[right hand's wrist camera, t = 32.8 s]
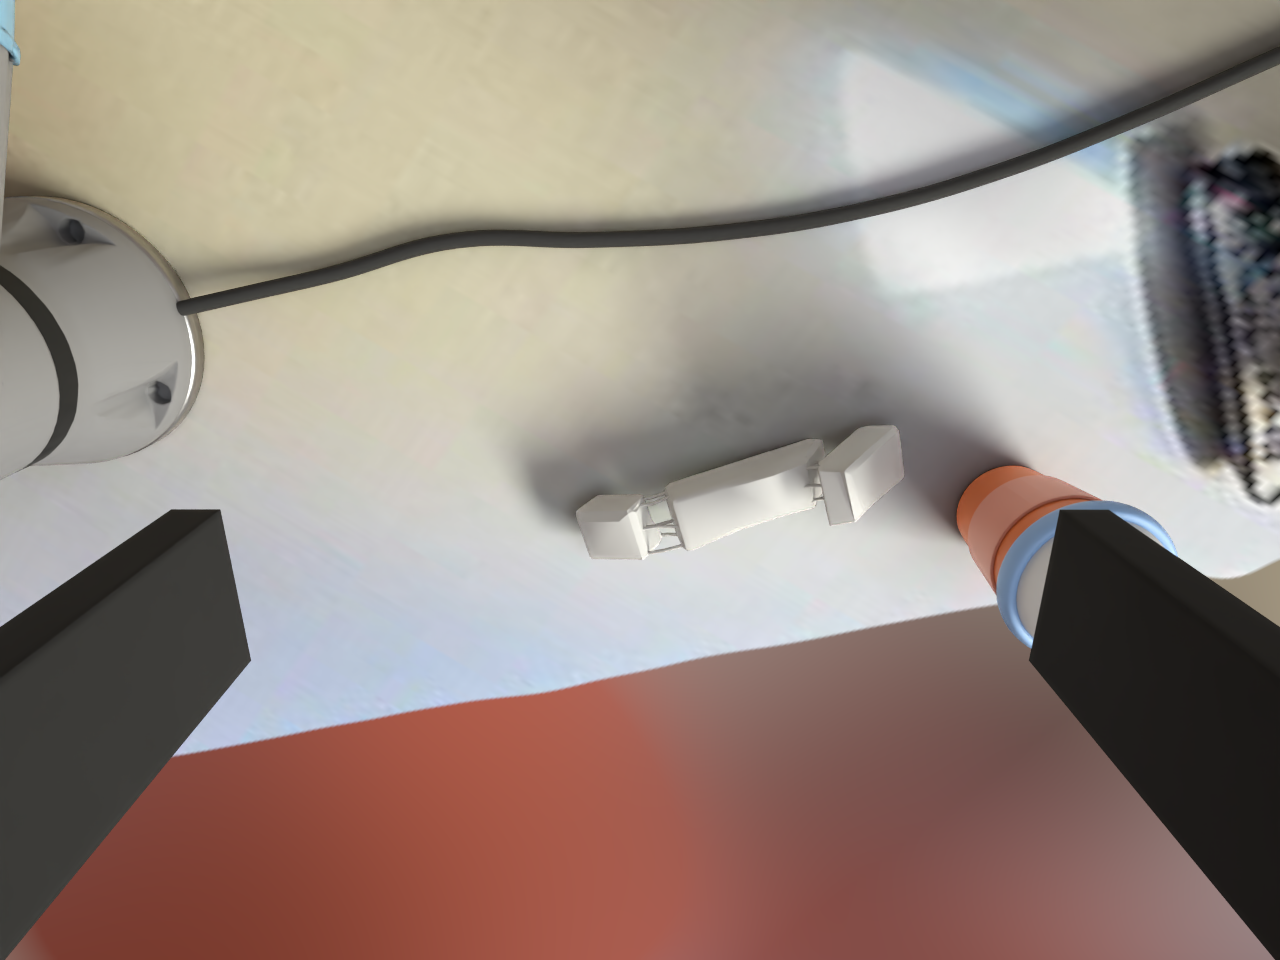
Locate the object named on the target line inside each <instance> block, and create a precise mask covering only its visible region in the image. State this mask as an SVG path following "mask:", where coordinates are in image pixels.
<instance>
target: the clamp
mask: <svg viewBox="0 0 1280 960" xmlns="http://www.w3.org/2000/svg"><path fill="white" fill-rule="evenodd" d="M904 476H905V474H904V466H903V458H902V450H901V441H900V433H899V430H898V429H897V428H896V426H894V425H876V426H865V427H861V428H858V429H857V430H856V431H854V432H853V433H852V434H851V435H850V436H849V437H848V438H846V439H845V440H844V441H843V442H842V443H841V444H839V445H838V446H837V447H836V448H835V449H834V450H832V451H831V452H830V453H829V454H828V455H827V456H826V457H825V451H824V444H823V440H819V439H806V440H803V441H800V442H797V443H793V444H790V445H787V446H784V447H781V448H778V449H775V450H771V451H768V452H765V453H762V454H759V455H756V456H753V457H749V458H746V459H743V460H740V461H737V462H734V463H731V464H727V465H724V466H721V467H718V468H715V469H712V470H709V471H706V472H702V473H699V474H696V475H693V476H690V477H687V478H684V479H680V480H677V481H674V482H671V483H669V484H668V485H667V486H666V487H665V489H664V492H662V493H659V494H655V495H652V496H648V497H644V496H643V495H641V494H624V495H597V496H596V497H594V498H593V499H591V500H590V501H589V502H587V503H586V504H585V505H583V506H582V507H580V508H579V509H578V510H577V511H576V518H577V520H578V523H579V526H580V529H581V532H582V535H583V538H584V541H585V544H586V547H587V550H588V553H589V556H590V557H591V559H627V560H643V559H645V558H646V557H647V556H648V555H649V554H655V553H661V552H666V551H670V550H674V549H677V548H681V547H683V548H684V549H686V550H687V551H691V550H695V549H697V548H700V547H702V546H704V545H707V544H709V543H711V542H713V541H716V540H718V539H720V538H723V537H725V536H727V535H730V534H732V533H734V532H737V531H739V530H742V529H745V528H748V527H751V526H754V525H757V524H761V523H764V522H767V521H770V520H773V519H776V518H779V517H783V516H786V515H790V514H793V513H797V512H801V511H805V510H809V509H813V508H814V507H815V506H816V503H817V501H820V500H824V502H825V506H826V511H827V515H828V520H829V524H830V526H833V525H839V524H846V523H852V522H857V520H858V519H859V518H860V517H861V516H862V515H863V514H864V513H865V512H866V511H867V510H868V509H869V508H870V507H871V506H872V505H873V504H874V503H875V502H876V501H878V500H879V499H880V498H881V497H882V496H883V495H885V494H886V493H887V492H888V491H889V490H890V489H892V488H893V487H894V486H895V485H896V484H897V483H899V482H900V481H901V480H902V479H903V478H904ZM822 493H823V497H820V496H821V494H822ZM663 495H665V497H664V498H661V499H659V500H656V501H654V502H649V503H646V501H645V500H649V499H653V498H656V497H659V496H663ZM664 500H667V504H668V507H669V511H670V514H671V517H672V519H671V520H668V521H665V522H661V523H658V524H655V523H654V521H653V520H652V517H651V515H650V512H649V509H648V506H651V505H654V504H657V503H659V502H662V501H664ZM672 522H673V524H674V525H665V524H669V523H672ZM658 528H675V531H676V533H661V532H660V530H659V529H658ZM663 536H678V538H679V540H680V542H681V544H680V545H676V546H673V547H669V548H665V549H660V550H654V549H655V548H656V547H657V546H658V545H659V543H660V541H661V539H662V537H663ZM653 550H654V551H653Z"/></svg>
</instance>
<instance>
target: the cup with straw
mask: <svg viewBox="0 0 1280 960" xmlns="http://www.w3.org/2000/svg"><path fill="white" fill-rule="evenodd" d="M1060 510H1110V511H1112V512H1113V513H1114V514H1116V515H1117V516H1119V517H1120V518H1122V519H1123V520H1125V521H1126V522H1128V523H1129V524H1130V525H1132V526H1133V527H1135V528H1136V529H1138V530H1139V531H1141V532H1142V533H1144V534H1145V535H1146V536H1148V537H1149V538H1151V539H1152V540H1154V541H1155V542H1157V543H1158V544H1160V545H1161V546H1162V547H1164V548H1165V549H1167V550H1168V551H1170V552H1171V553H1173V554H1174V555H1176V556H1177V557H1178V555H1177V551H1176V549H1175V546H1174V544H1173V542H1172V540H1171V538H1170V536H1169V535H1168V534H1167V532H1166V531H1165V529H1164V528H1163V527H1162V526H1161V525H1160V524H1159V523H1158V522H1157V521H1156V520H1155V519H1153V518H1152V517H1151V516H1149V515H1148V514H1146V513H1145V512H1143V511H1141V510H1139V509H1137V508H1135V507H1132V506H1129V505H1126V504H1123V503H1119V502H1113V501H1103V500H1101V499H1099V498H1097V497H1095V496H1093V495H1090V494H1088V493H1086V492H1084V491H1082V490H1080V489H1078V488H1076V487H1074V486H1072V485H1070V484H1068V483H1066V482H1064V481H1062V480H1059V479H1057V478H1053V477H1050V476H1045V475H1043V474H1040V473H1038V472H1036V471H1034V470H1032V469H1029V468H1026V467H1022V466H1003V467H998V468H995V469H992V470H990V471H988V472H986V473H984V474H982V475H980V476H979V477H978V478H976V479H975V480H974V481H973V482H972V483H971V484H970V485H969V486H968V487H967V489H966V490H965V491H964V493H963V495H962V497H961V499H960V501H959V504H958V508H957V524H958V528H959V531H960V533H961V535H962V537H963V539H964V540H965V542H966V543H967V545H968V546H969V550H970V553H971V556H972V558H973V560H974V561H975V563H976V564H977V566H978V568H979V569H980V571H981V572H982V574H983V575H984V577H985V578H986V580H987V582H988V583H989V585H990V586H991V588H992V589H993V591H994V592H995V594H996V595H997V603H998V607H999V610H1000V613H1001V616H1002V618H1003V620H1004V622H1005V623H1006V625H1007V627H1008V628H1009V630H1010V631H1011V632H1012V633H1013V634H1014V635H1015V636H1016V637H1017V638H1018V639H1019V640H1020V641H1021V642H1022V643H1024V644H1025V645H1026V646H1028V647H1029V648H1032V643H1033V639H1034V634H1035V629H1036V624H1037V619H1038V614H1039V609H1040V604H1041V599H1042V594H1043V589H1044V584H1045V579H1046V575H1047V570H1048V565H1049V560H1050V555H1051V550H1052V545H1053V540H1054V535H1055V530H1056V525H1057V520H1058V516H1059V511H1060Z"/></svg>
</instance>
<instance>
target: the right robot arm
mask: <svg viewBox="0 0 1280 960" xmlns="http://www.w3.org/2000/svg"><path fill="white" fill-rule="evenodd" d="M14 22H15V0H0V480H1V479H3V478H5V477H7V476H9V475H11V474H13V473H15V472H17V471H20V470H22V469H24V468H26V467H29V466H41V465H64V464H87V463H98V462H104V461H109V460H113V459H116V458H120V457H123V456H127V455H130V454H132V453H135V452H138V451H140V450H142V449H144V448H146V447H147V446H149V445H151V444H153V443H155V442H157V441H159V440H161V439H162V438H163V437H165V436H166V435H168V434H169V433H170V432H171V431H173V430H174V429H175V428H176V427H177V426H178V425H179V424H180V423H181V422H182V421H183V419H184V418H185V417H186V415H187V414H188V412H189V411H190V409H191V407H192V406H193V404H194V402H195V400H196V397H197V395H198V392H199V389H200V385H201V382H202V377H203V370H204V343H203V337H202V331H201V327H200V323H199V319H198V316H197V313H199V312H204V311H208V310H212V309H217V308H221V307H226V306H230V305H234V304H239V303H243V302H247V301H252V300H256V299H261V298H265V297H270V296H274V295H279V294H283V293H288V292H292V291H297V290H301V289H306V288H310V287H314V286H318V285H323V284H327V283H331V282H335V281H339V280H342V279H346V278H349V277H353V276H356V275H360V274H363V273H366V272H369V271H372V270H375V269H378V268H381V267H384V266H387V265H390V264H393V263H396V262H399V261H403V260H406V259H409V258H413V257H416V256H420V255H424V254H429V253H433V252H438V251H443V250H449V249H456V248H464V247H475V246H532V247H554V248H598V247H630V246H655V245H674V244H688V243H701V242H711V241H721V240H731V239H740V238H749V237H757V236H765V235H773V234H780V233H787V232H794V231H800V230H806V229H812V228H817V227H823V226H828V225H833V224H838V223H843V222H848V221H853V220H857V219H862V218H866V217H871V216H875V215H880V214H884V213H888V212H892V211H896V210H900V209H904V208H908V207H912V206H916V205H920V204H923V203H927V202H930V201H934V200H937V199H941V198H944V197H947V196H951V195H954V194H957V193H960V192H963V191H967V190H970V189H973V188H976V187H979V186H982V185H985V184H988V183H991V182H994V181H997V180H1000V179H1003V178H1006V177H1009V176H1012V175H1015V174H1018V173H1021V172H1024V171H1026V170H1029V169H1032V168H1035V167H1037V166H1040V165H1043V164H1046V163H1048V162H1051V161H1054V160H1056V159H1059V158H1061V157H1064V156H1067V155H1069V154H1072V153H1074V152H1077V151H1079V150H1082V149H1084V148H1087V147H1089V146H1091V145H1094V144H1096V143H1099V142H1101V141H1104V140H1106V139H1109V138H1111V137H1113V136H1116V135H1118V134H1121V133H1123V132H1125V131H1128V130H1130V129H1133V128H1135V127H1138V126H1140V125H1142V124H1145V123H1147V122H1150V121H1152V120H1154V119H1157V118H1159V117H1161V116H1164V115H1166V114H1168V113H1171V112H1173V111H1175V110H1178V109H1180V108H1182V107H1185V106H1187V105H1189V104H1191V103H1194V102H1196V101H1198V100H1200V99H1203V98H1205V97H1207V96H1209V95H1212V94H1214V93H1216V92H1218V91H1220V90H1223V89H1225V88H1227V87H1229V86H1232V85H1234V84H1236V83H1238V82H1240V81H1243V80H1245V79H1247V78H1249V77H1252V76H1254V75H1256V74H1258V73H1260V72H1263V71H1265V70H1267V69H1270V68H1272V67H1274V66H1276V65H1279V64H1280V47H1277V48H1275V49H1273V50H1270V51H1268V52H1266V53H1264V54H1261V55H1259V56H1257V57H1255V58H1253V59H1250V60H1248V61H1246V62H1244V63H1241V64H1239V65H1237V66H1235V67H1233V68H1230V69H1228V70H1226V71H1224V72H1222V73H1219V74H1217V75H1215V76H1213V77H1211V78H1208V79H1206V80H1204V81H1202V82H1200V83H1197V84H1195V85H1193V86H1191V87H1188V88H1186V89H1184V90H1182V91H1179V92H1177V93H1175V94H1173V95H1170V96H1168V97H1166V98H1163V99H1161V100H1159V101H1156V102H1154V103H1152V104H1149V105H1147V106H1145V107H1142V108H1140V109H1137V110H1135V111H1133V112H1130V113H1128V114H1125V115H1123V116H1121V117H1118V118H1116V119H1113V120H1111V121H1109V122H1106V123H1104V124H1101V125H1099V126H1096V127H1094V128H1092V129H1089V130H1087V131H1084V132H1082V133H1079V134H1077V135H1074V136H1072V137H1069V138H1067V139H1064V140H1062V141H1059V142H1057V143H1054V144H1052V145H1049V146H1046V147H1044V148H1041V149H1038V150H1036V151H1033V152H1030V153H1027V154H1025V155H1022V156H1019V157H1016V158H1013V159H1010V160H1008V161H1005V162H1002V163H999V164H996V165H993V166H990V167H987V168H984V169H981V170H978V171H975V172H972V173H969V174H965V175H962V176H959V177H956V178H953V179H950V180H946V181H943V182H940V183H936V184H933V185H930V186H926V187H922V188H919V189H915V190H911V191H908V192H904V193H900V194H896V195H892V196H888V197H884V198H879V199H875V200H871V201H866V202H862V203H857V204H853V205H848V206H843V207H839V208H834V209H829V210H824V211H818V212H813V213H807V214H801V215H795V216H789V217H782V218H775V219H767V220H759V221H751V222H743V223H734V224H724V225H715V226H704V227H693V228H680V229H663V230H641V231H611V232H543V231H522V230H479V231H466V232H458V233H450V234H444V235H438V236H433V237H428V238H423V239H419V240H415V241H412V242H408V243H404V244H401V245H398V246H395V247H392V248H388V249H385V250H382V251H379V252H376V253H373V254H370V255H367V256H364V257H361V258H358V259H355V260H352V261H348V262H345V263H342V264H338V265H334V266H331V267H327V268H323V269H319V270H314V271H310V272H306V273H302V274H297V275H293V276H288V277H284V278H279V279H274V280H270V281H265V282H261V283H256V284H252V285H248V286H243V287H239V288H234V289H230V290H226V291H221V292H217V293H213V294H208V295H204V296H199V297H195V298H190V296H189V294H188V292H187V290H186V289H185V287H184V285H183V283H182V281H181V280H180V278H179V277H178V275H177V274H176V272H175V271H174V270H173V268H172V267H171V266H170V264H169V263H168V262H167V261H166V259H165V258H164V257H163V256H162V255H161V254H160V253H159V252H158V251H157V250H156V249H155V247H154V246H152V245H151V244H150V243H149V242H148V241H147V240H146V239H145V238H144V237H143V236H141V235H140V234H139V233H137V232H136V231H135V230H133V229H132V228H131V227H129V226H128V225H126V224H125V223H123V222H122V221H120V220H119V219H117V218H115V217H113V216H111V215H109V214H108V213H106V212H103V211H101V210H99V209H97V208H94V207H92V206H89V205H86V204H83V203H80V202H77V201H72V200H68V199H64V198H57V197H46V196H20V197H7V198H4V188H5V174H6V159H7V145H8V130H9V116H10V101H11V87H12V72H13V65H16V66H18V65H19V64H20V57H21V55H20V49H19V47H18V45H17V44H16V42H15V41H14ZM250 661H251V658H250V653H249V648H248V643H247V639H246V634H245V629H244V624H243V619H242V614H241V609H240V604H239V599H238V594H237V589H236V584H235V579H234V575H233V570H232V565H231V560H230V555H229V550H228V545H227V540H226V535H225V530H224V525H223V520H222V516H221V511H220V510H170V511H168V512H167V513H166V514H164V515H163V516H161V517H160V518H158V519H157V520H155V521H154V522H152V523H151V524H150V525H148V526H147V527H145V528H144V529H142V530H141V531H139V532H138V533H136V534H135V535H134V536H132V537H131V538H129V539H128V540H126V541H125V542H123V543H122V544H120V545H119V546H118V547H116V548H115V549H113V550H112V551H110V552H109V553H107V554H106V555H104V556H103V557H102V558H100V559H99V560H97V561H96V562H94V563H93V564H91V565H90V566H88V567H87V568H86V569H84V570H83V571H81V572H80V573H78V574H77V575H75V576H74V577H72V578H71V579H70V580H68V581H67V582H65V583H64V584H62V585H61V586H59V587H58V588H56V589H55V590H54V591H52V592H51V593H49V594H48V595H46V596H45V597H43V598H42V599H40V600H39V601H38V602H36V603H35V604H33V605H32V606H30V607H29V608H27V609H26V610H24V611H23V612H22V613H20V614H19V615H17V616H16V617H14V618H13V619H11V620H10V621H8V622H7V623H5V624H4V625H3V626H1V627H0V960H5V959H6V958H7V957H8V955H9V954H10V953H11V952H12V950H13V949H14V948H15V947H16V946H17V944H18V943H19V942H20V941H21V940H22V938H23V937H24V936H25V935H26V933H27V932H28V931H29V930H30V929H31V927H32V926H33V925H34V924H35V922H36V921H37V920H38V919H39V918H40V916H41V915H42V914H43V913H44V912H45V910H46V909H47V908H48V907H49V905H50V904H51V903H52V902H53V901H54V899H55V898H56V897H57V896H58V895H59V893H60V892H61V891H62V890H63V888H64V887H65V886H66V885H67V884H68V882H69V881H70V880H71V879H72V877H73V876H74V875H75V874H76V873H77V871H78V870H79V869H80V868H81V867H82V865H83V864H84V863H85V862H86V860H87V859H88V858H89V857H90V856H91V854H92V853H93V852H94V851H95V850H96V848H97V847H98V846H99V845H100V843H101V842H102V841H103V840H104V839H105V837H106V836H107V835H108V834H109V833H110V831H111V830H112V829H113V828H114V826H115V825H116V824H117V823H118V822H119V820H120V819H121V818H122V817H123V815H124V814H125V813H126V812H127V811H128V809H129V808H130V807H131V806H132V805H133V803H134V802H135V801H136V800H137V798H138V797H139V796H140V795H141V794H142V792H143V791H144V790H145V789H146V788H147V786H148V785H149V784H150V783H151V781H152V780H153V779H154V778H155V777H156V775H157V774H158V773H159V772H160V770H161V769H162V768H163V767H164V766H165V764H166V763H167V762H168V761H169V760H170V758H171V757H172V756H173V755H174V753H175V752H176V751H177V750H178V749H179V747H180V746H181V745H182V744H183V743H184V741H185V740H186V739H187V738H188V736H189V735H190V734H191V733H192V732H193V730H194V729H195V728H196V727H197V726H198V724H199V723H200V722H201V721H202V719H203V718H204V717H205V716H206V715H207V713H208V712H209V711H210V710H211V708H212V707H213V706H214V705H215V704H216V702H217V701H218V700H219V699H220V698H221V696H222V695H223V694H224V693H225V691H226V690H227V689H228V688H229V687H230V685H231V684H232V683H233V682H234V681H235V679H236V678H237V677H238V676H239V674H240V673H241V672H242V671H243V670H244V668H245V667H246V666H247V665H248V663H249V662H250ZM1029 661H1030V662H1031V663H1032V665H1033V666H1034V667H1035V668H1036V670H1037V671H1038V672H1039V673H1040V674H1041V676H1042V677H1043V678H1044V679H1045V681H1046V682H1047V683H1048V684H1049V685H1050V687H1051V688H1052V689H1053V690H1054V691H1055V693H1056V694H1057V695H1058V696H1059V698H1060V699H1061V700H1062V701H1063V702H1064V704H1065V705H1066V706H1067V707H1068V708H1069V710H1070V711H1071V712H1072V713H1073V715H1074V716H1075V717H1076V718H1077V719H1078V721H1079V722H1080V723H1081V724H1082V726H1083V727H1084V728H1085V729H1086V730H1087V732H1088V733H1089V734H1090V735H1091V736H1092V738H1093V739H1094V740H1095V741H1096V743H1097V744H1098V745H1099V746H1100V747H1101V749H1102V750H1103V751H1104V752H1105V753H1106V755H1107V756H1108V757H1109V758H1110V759H1111V761H1112V762H1113V763H1114V764H1115V766H1116V767H1117V768H1118V769H1119V770H1120V772H1121V773H1122V774H1123V775H1124V777H1125V778H1126V779H1127V780H1128V781H1129V783H1130V784H1131V785H1132V786H1133V788H1134V789H1135V790H1136V791H1137V792H1138V794H1139V795H1140V796H1141V797H1142V798H1143V800H1144V801H1145V802H1146V803H1147V805H1148V806H1149V807H1150V808H1151V809H1152V811H1153V812H1154V813H1155V814H1156V815H1157V817H1158V818H1159V819H1160V820H1161V822H1162V823H1163V824H1164V825H1165V826H1166V828H1167V829H1168V830H1169V831H1170V832H1171V834H1172V835H1173V836H1174V837H1175V839H1176V840H1177V841H1178V842H1179V843H1180V845H1181V846H1182V847H1183V848H1184V850H1185V851H1186V852H1187V853H1188V854H1189V856H1190V857H1191V858H1192V859H1193V860H1194V862H1195V863H1196V864H1197V865H1198V867H1199V868H1200V869H1201V870H1202V871H1203V873H1204V874H1205V875H1206V876H1207V877H1208V879H1209V880H1210V881H1211V882H1212V884H1213V885H1214V886H1215V887H1216V888H1217V890H1218V891H1219V892H1220V893H1221V895H1222V896H1223V897H1224V898H1225V899H1226V901H1227V902H1228V903H1229V904H1230V905H1231V907H1232V908H1233V909H1234V910H1235V912H1236V913H1237V914H1238V915H1239V916H1240V918H1241V919H1242V920H1243V921H1244V922H1245V924H1246V925H1247V926H1248V927H1249V929H1250V930H1251V931H1252V932H1253V933H1254V935H1255V936H1256V937H1257V938H1258V939H1259V941H1260V942H1261V943H1262V944H1263V946H1264V947H1265V948H1266V949H1267V950H1268V952H1269V953H1270V954H1271V955H1272V957H1273V958H1274V959H1275V960H1280V627H1279V626H1277V625H1276V624H1274V623H1273V622H1272V621H1270V620H1269V619H1267V618H1266V617H1264V616H1263V615H1261V614H1260V613H1258V612H1257V611H1256V610H1254V609H1253V608H1251V607H1250V606H1248V605H1247V604H1245V603H1244V602H1242V601H1241V600H1240V599H1238V598H1237V597H1235V596H1234V595H1232V594H1231V593H1229V592H1228V591H1226V590H1225V589H1224V588H1222V587H1221V586H1219V585H1218V584H1216V583H1215V582H1213V581H1212V580H1210V579H1209V578H1208V577H1206V576H1205V575H1203V574H1202V573H1200V572H1199V571H1197V570H1196V569H1194V568H1193V567H1192V566H1190V565H1189V564H1187V563H1186V562H1184V561H1183V560H1181V559H1180V558H1178V557H1177V556H1176V555H1174V554H1173V553H1171V552H1170V551H1168V550H1167V549H1165V548H1164V547H1162V546H1161V545H1160V544H1158V543H1157V542H1155V541H1154V540H1152V539H1151V538H1149V537H1148V536H1146V535H1145V534H1144V533H1142V532H1141V531H1139V530H1138V529H1136V528H1135V527H1133V526H1132V525H1130V524H1129V523H1128V522H1126V521H1125V520H1123V519H1122V518H1120V517H1119V516H1117V515H1116V514H1114V513H1113V512H1112V511H1110V510H1060V511H1059V516H1058V520H1057V525H1056V530H1055V535H1054V540H1053V545H1052V550H1051V555H1050V560H1049V565H1048V570H1047V575H1046V579H1045V584H1044V589H1043V594H1042V599H1041V604H1040V609H1039V614H1038V619H1037V624H1036V629H1035V634H1034V639H1033V643H1032V648H1031V653H1030V658H1029Z"/></svg>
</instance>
